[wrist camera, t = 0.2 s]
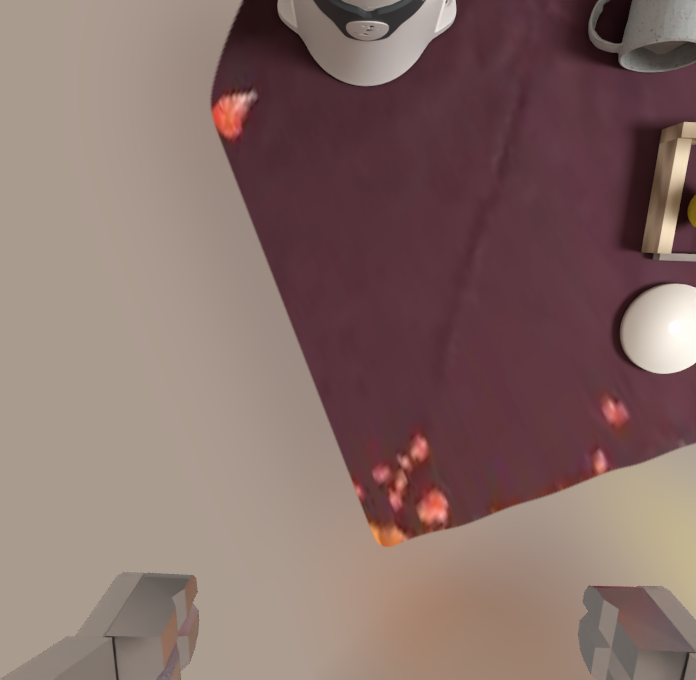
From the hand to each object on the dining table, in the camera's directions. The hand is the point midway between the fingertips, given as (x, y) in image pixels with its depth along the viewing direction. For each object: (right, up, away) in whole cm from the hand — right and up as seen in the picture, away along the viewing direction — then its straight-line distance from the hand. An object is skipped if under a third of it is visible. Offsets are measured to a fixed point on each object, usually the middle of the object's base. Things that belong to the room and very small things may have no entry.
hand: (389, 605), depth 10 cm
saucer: (+38, +7, +47) cm, 61 cm away
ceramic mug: (+30, +39, +40) cm, 63 cm away
